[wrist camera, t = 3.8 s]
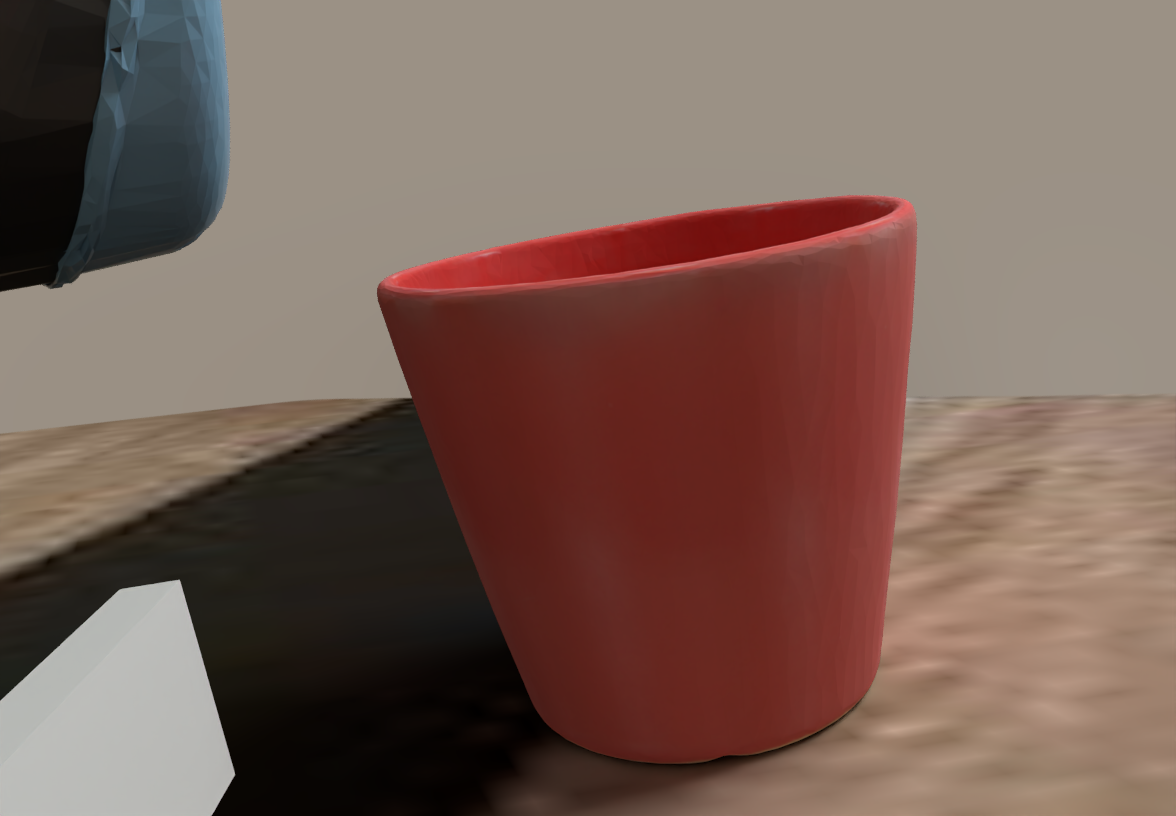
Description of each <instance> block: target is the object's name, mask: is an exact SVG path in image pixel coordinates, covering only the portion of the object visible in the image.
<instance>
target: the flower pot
mask: <svg viewBox="0 0 1176 816" xmlns="http://www.w3.org/2000/svg"><path fill="white" fill-rule="evenodd" d="M916 235H917V222H916V213H915V210H914V208H913V206H912V204H911V203H910V202H908V201H907V200H905V199H900V198H897V197H887V196H869V195H867V196H857V195H855V196H854V195H848V196H838V197H826V198H818V199H805V200H794V201H782V202H775V203H767V204H757V205H748V206H740V207H731V208H722V209H713V210H705V211H697V212H690V213H684V214H678V215H673V216H666V217H659V218H653V219H648V220H642V221H637V222H631V223H626V224H619V225H613V226H606V227H601V228H596V229H590V230H583V231H577V232H571V233H566V234H561V235H555V236H550V237H545V238H540V239H534V240H530V241H525V242H519V243H514V244H509V245H504V246H499V247H494V248H490V249H486V250H481V251H477V252H472V253H468V254H463V255H459V256H455V257H450V258H446V259H443V260H439V261H434V262H430V263H427V264H424V265H420V266H416V267H412V268H409V269H406V270H403V271H400V272H398V273H395V274H393V275H391V276H389V277H386V278H385V279H384V280H383V281H382V282H381V283H380V284H379V286H378V288H377V297H378V302H379V305H380V308H381V311H382V314H383V316H384V319H385V322H386V325H387V328H388V331H389V334H390V337H391V340H392V343H393V346H394V349H395V352H396V355H397V357H398V360H399V363H400V366H401V368H402V371H403V374H404V377H405V379H406V382H407V385H408V388H409V390H410V393H411V396H412V399H413V401H414V404H415V407H416V410H417V412H418V415H419V418H420V420H421V423H422V426H423V429H424V431H425V434H426V437H427V439H428V442H429V445H430V447H431V450H432V453H433V455H434V458H435V461H436V464H437V466H438V469H439V472H440V474H441V477H442V480H443V482H444V485H445V488H446V490H447V493H448V496H449V498H450V501H451V504H452V507H453V509H454V512H455V514H456V517H457V520H458V522H459V525H460V528H461V530H462V533H463V535H464V538H465V541H466V543H467V546H468V548H469V551H470V553H471V556H472V558H473V561H474V563H475V566H476V569H477V571H478V574H479V576H480V579H481V581H482V584H483V586H484V589H485V591H486V594H487V596H488V599H489V601H490V604H491V606H492V609H493V611H494V614H495V616H496V618H497V621H498V623H499V626H500V628H501V630H502V633H503V635H504V638H505V640H506V642H507V645H508V647H509V649H510V652H511V654H512V656H513V659H514V661H515V663H516V666H517V668H518V670H519V673H520V675H521V677H522V680H523V682H524V685H525V687H526V689H527V692H528V694H529V697H530V699H531V701H532V704H533V705H534V707H535V709H536V710H537V712H538V713H539V715H540V716H541V718H542V719H543V720H544V722H545V723H546V724H547V725H548V726H549V727H550V728H551V729H553V730H554V731H555V732H557V733H558V734H560V735H561V736H562V737H564V738H565V739H567V740H569V741H571V742H573V743H575V744H577V745H579V746H581V747H583V748H586V749H588V750H590V751H593V752H596V753H599V754H603V755H607V756H611V757H616V758H621V759H625V760H630V761H638V762H648V763H658V764H682V763H700V762H706V761H710V760H713V759H716V758H719V757H722V756H727V755H753V754H758V753H762V752H766V751H770V750H774V749H777V748H780V747H783V746H786V745H788V744H791V743H794V742H796V741H799V740H801V739H804V738H806V737H808V736H810V735H812V734H814V733H816V732H818V731H820V730H822V729H824V728H825V727H827V726H829V725H830V724H832V723H834V722H835V721H837V720H838V719H839V718H841V717H842V716H843V715H844V714H846V713H847V712H848V711H849V710H851V709H852V708H853V707H854V706H855V705H856V704H857V703H858V702H859V701H860V700H861V698H862V697H863V696H864V695H865V694H866V692H867V691H868V689H869V688H870V686H871V684H872V682H873V680H874V678H875V675H876V673H877V669H878V666H879V662H880V655H881V645H882V637H883V627H884V616H885V606H886V597H887V588H888V579H889V570H890V561H891V553H892V544H893V535H894V527H895V518H896V508H897V497H898V486H899V475H900V464H901V453H902V442H903V430H904V417H905V403H906V389H907V374H908V363H909V352H910V342H911V331H912V319H913V303H914V302H913V301H914V286H915V285H914V284H915V265H916V242H917V240H916V239H917V236H916Z"/></svg>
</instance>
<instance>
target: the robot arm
mask: <svg viewBox="0 0 1176 816" xmlns="http://www.w3.org/2000/svg"><path fill="white" fill-rule="evenodd" d="M229 156H230V118H229V96H228V79H227V66H226V52H225V40H224V29H223V19H222V9H221V1H220V0H0V292H2V291H7V290H12V289H18V288H24V287H30V286H35V285H41V284H42V285H44V286H46V287H48V288H50V289H53V288H59V287H62V286H63V284H66V283H72V282H74V281H75V280H76V279H77V278H78V277H79V276H80V274H82V273H87V272H91V271H95V270H100V269H104V268H108V267H112V266H116V265H121V264H126V263H130V262H134V261H138V260H143V259H147V258H152V257H156V256H160V255H164V254H169V253H173V252H176V251H178V250H181V249H182V248H183V247H185V246H188V245H189V244H191V243H192V242H194V241H195V240H196V239H197V238H198V237H199V236H200V235H201V234H202V233H203V232H204V230H206V229H207V228H208V227H209V226H210V225H211V224H212V223H213V221H214V220H215V218H216V216H217V214H218V212H219V211H220V209H221V208H222V204H223V202H224V199H225V194H226V188H227V182H228V175H229V163H230V157H229ZM234 776H235V772H234V769H233V765H232V762H231V758H230V755H229V751H228V748H227V744H226V741H225V737H224V734H223V730H222V727H221V723H220V720H219V716H218V712H217V709H216V705H215V702H214V698H213V695H212V691H211V688H210V684H209V681H208V677H207V674H206V670H205V667H204V663H203V660H202V656H201V653H200V649H199V646H198V642H197V639H196V635H195V632H194V628H193V625H192V621H191V618H190V614H189V611H188V607H187V604H186V600H185V597H184V593H183V590H182V586H181V583H180V580H176V581H169V582H163V583H157V584H151V585H144V586H138V587H132V588H126V589H120V590H119V591H118V592H117V593H116V594H115V595H113V596H112V597H111V598H110V599H109V600H108V601H107V602H106V603H105V604H104V605H103V606H102V607H101V608H100V609H98V610H97V611H96V612H95V613H94V614H93V615H92V616H91V617H90V618H89V619H88V620H87V621H86V622H84V623H83V624H82V625H81V626H80V627H79V628H78V629H77V630H76V631H75V632H74V633H73V634H72V635H71V636H69V637H68V638H67V639H66V640H65V641H64V642H63V643H62V644H61V645H60V646H59V647H58V648H57V649H56V650H54V651H53V652H52V653H51V654H50V655H49V656H48V657H47V658H46V659H45V660H44V661H43V662H42V663H40V664H39V665H38V666H37V667H36V668H35V669H34V670H33V671H32V672H31V673H30V674H29V675H28V676H27V677H25V678H24V679H23V680H22V681H21V682H20V683H19V684H18V685H17V686H16V687H15V688H14V689H13V690H11V691H10V692H9V693H8V694H7V695H6V696H5V697H4V698H3V699H2V700H1V701H0V816H212V814H213V812H214V811H215V809H216V807H217V805H218V804H219V802H220V800H221V798H222V797H223V795H224V793H225V791H226V790H227V788H228V786H229V784H230V783H231V781H232V779H233V777H234Z"/></svg>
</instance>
